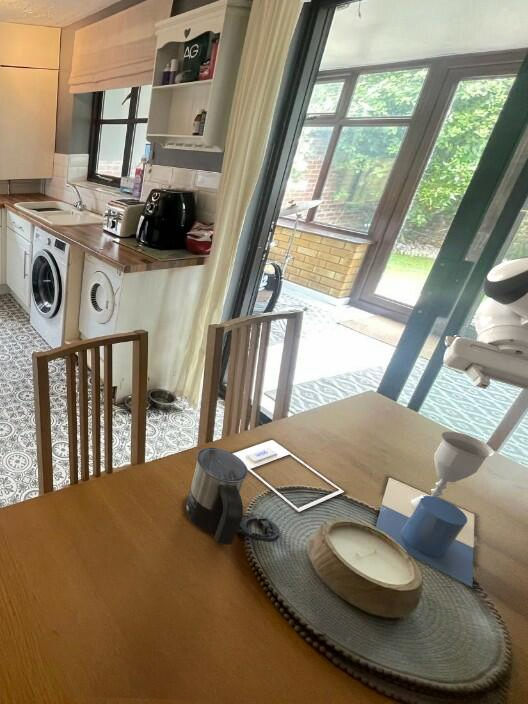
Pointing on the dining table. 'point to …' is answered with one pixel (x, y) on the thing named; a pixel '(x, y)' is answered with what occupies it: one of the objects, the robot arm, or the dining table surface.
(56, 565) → the dining table surface
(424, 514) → the short blue cylinder
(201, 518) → the milk frother
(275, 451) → the photo frame
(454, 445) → the chalice
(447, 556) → the board
